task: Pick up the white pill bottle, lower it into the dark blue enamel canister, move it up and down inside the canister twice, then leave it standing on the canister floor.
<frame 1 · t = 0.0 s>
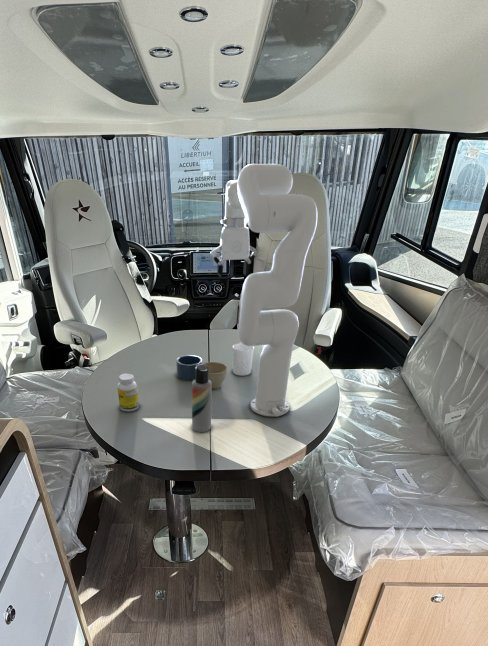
hand: (233, 275, 162), 31 cm above the table, tool pointing down, fingers open, 9 cm apart
lotion bottle: (201, 428, 135), on the table
white cup: (241, 372, 168), on the table
pill bottle: (129, 408, 145), on the table
canister: (189, 375, 166), on the table
flower pot: (212, 386, 159), on the table
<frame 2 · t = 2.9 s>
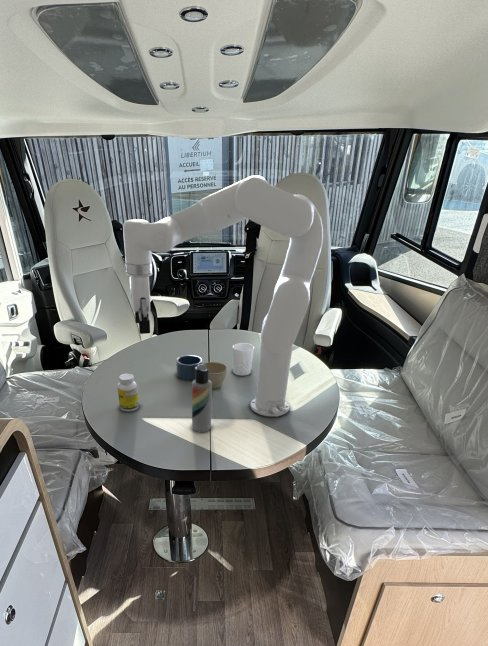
hand: (142, 327, 137), 24 cm above the table, tool pointing down, fingers open, 9 cm apart
nothing on the table moved.
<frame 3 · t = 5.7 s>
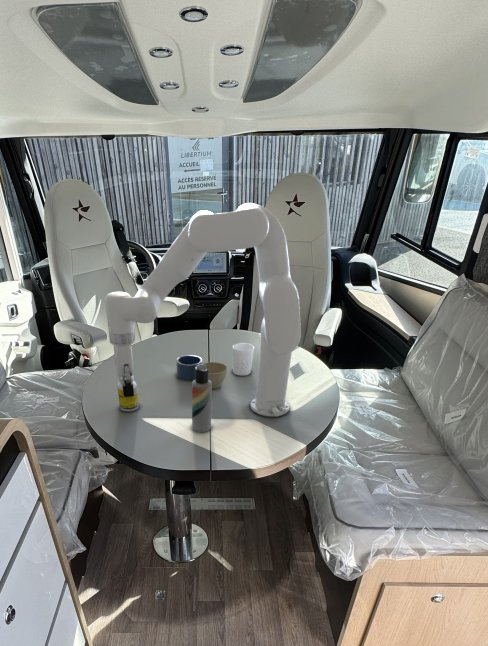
hand: (127, 390, 142), 6 cm above the table, tool pointing down, fingers closed on pill bottle, 6 cm apart
pill bottle: (129, 408, 145), on the table, touching gripper
everything else where it was.
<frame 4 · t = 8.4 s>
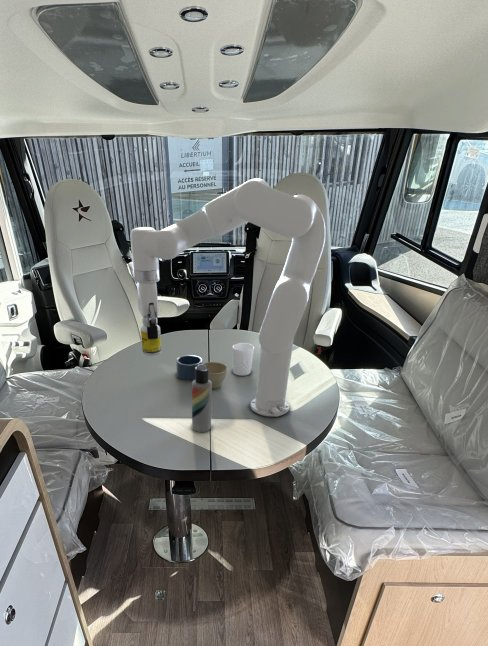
hand: (150, 334, 141), 21 cm above the table, tool pointing down, fingers closed on pill bottle, 6 cm apart
pill bottle: (152, 353, 144), point 15 cm above the table, touching gripper
everything else where it was.
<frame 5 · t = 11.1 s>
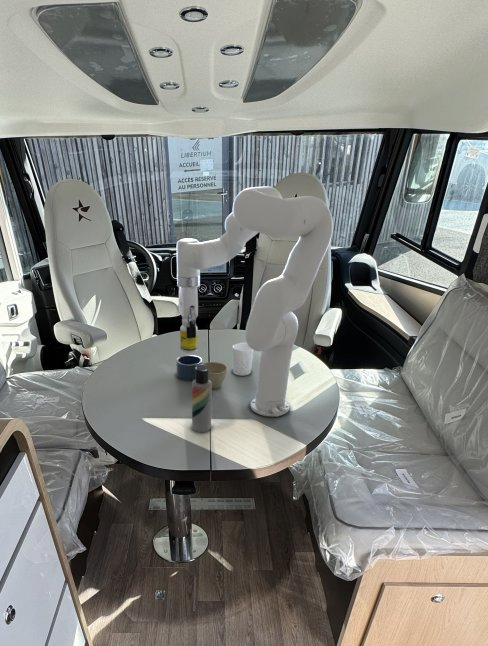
hand: (189, 333, 157), 16 cm above the table, tool pointing down, fingers closed on pill bottle, 6 cm apart
pill bottle: (189, 350, 160), point 10 cm above the table, touching gripper
everything else where it was.
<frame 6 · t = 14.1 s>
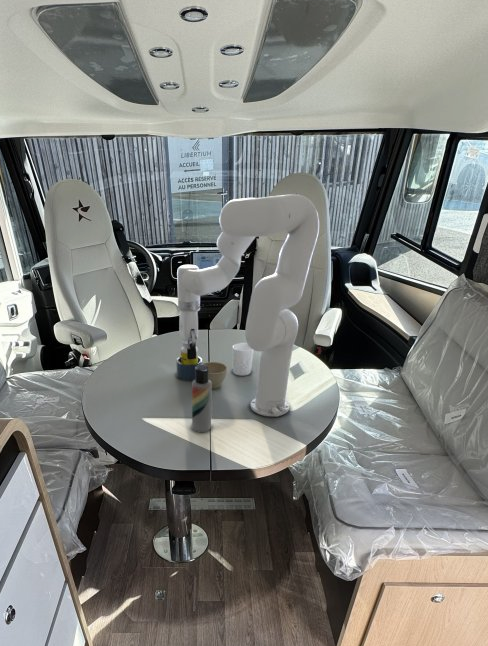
hand: (189, 354, 161), 8 cm above the table, tool pointing down, fingers closed on pill bottle, 6 cm apart
pill bottle: (189, 370, 165), point 2 cm above the table, touching gripper
everything else where it was.
when the fingers open (7 cm above the table, at t = 16.6 s): pill bottle stays where it is, resting on canister.
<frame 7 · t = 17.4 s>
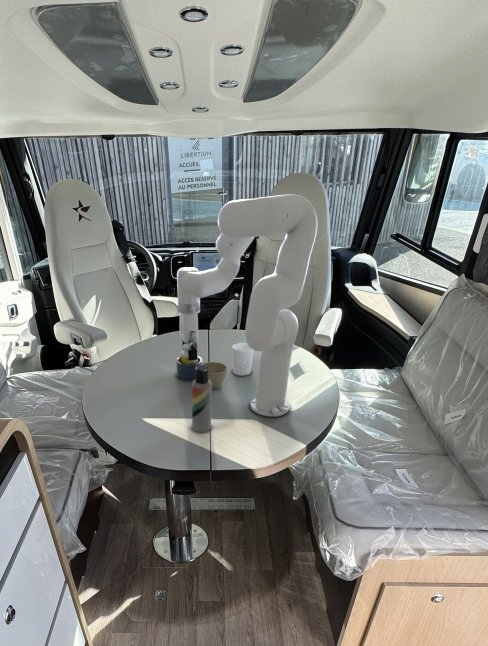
hand: (189, 355, 161), 8 cm above the table, tool pointing down, fingers open, 9 cm apart
pill bottle: (189, 374, 166), resting on canister
everything else where it was.
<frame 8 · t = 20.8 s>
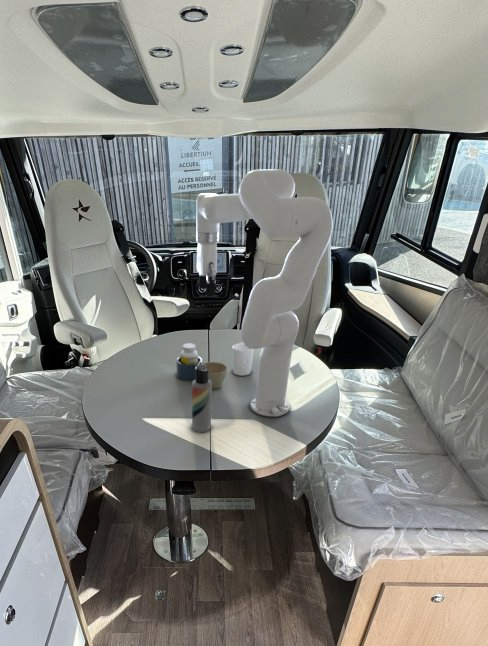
hand: (207, 291, 155), 28 cm above the table, tool pointing down, fingers open, 9 cm apart
nothing on the table moved.
at the end: pill bottle 0.1 cm off-centre in the canister, point 0.3 cm above the canister's base; pill bottle tilted 0°; pill bottle moved 32.0 cm from its start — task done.
